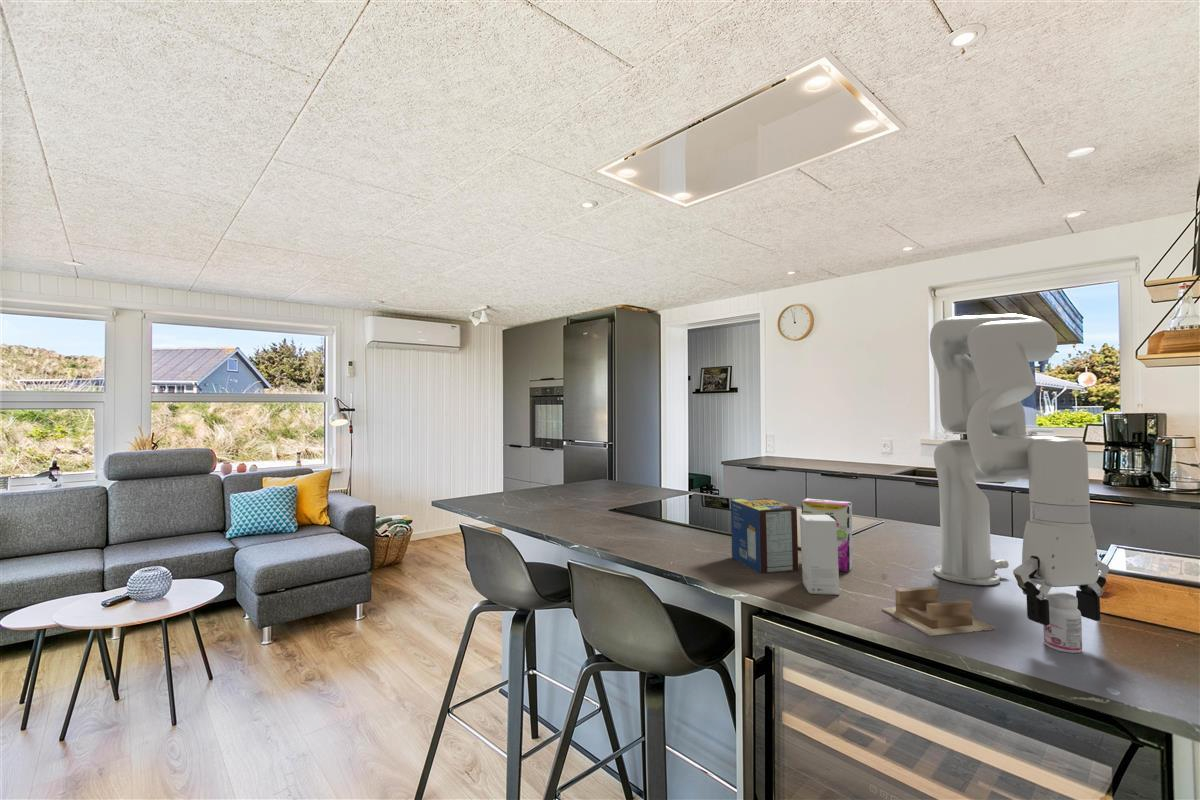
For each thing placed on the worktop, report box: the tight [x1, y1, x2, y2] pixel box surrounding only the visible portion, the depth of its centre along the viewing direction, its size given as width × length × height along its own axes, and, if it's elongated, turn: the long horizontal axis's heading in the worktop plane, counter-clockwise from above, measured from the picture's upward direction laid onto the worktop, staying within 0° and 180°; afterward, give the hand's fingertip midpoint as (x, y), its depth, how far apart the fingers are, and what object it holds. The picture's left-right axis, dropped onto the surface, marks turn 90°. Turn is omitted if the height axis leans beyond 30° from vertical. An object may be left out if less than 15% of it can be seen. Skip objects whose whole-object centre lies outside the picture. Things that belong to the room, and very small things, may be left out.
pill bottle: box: [1042, 590, 1083, 654], centre depth 87 cm, size 5×5×8 cm
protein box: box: [730, 497, 799, 575], centre depth 136 cm, size 10×15×16 cm
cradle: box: [881, 586, 996, 637], centre depth 99 cm, size 13×12×4 cm
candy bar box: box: [801, 497, 854, 573], centre depth 133 cm, size 11×5×16 cm, turn 58°
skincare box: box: [799, 514, 840, 596], centre depth 117 cm, size 8×7×16 cm
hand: (1063, 620), depth 87 cm, fingers open, 9 cm apart
